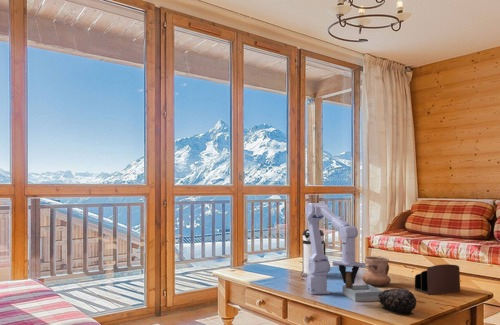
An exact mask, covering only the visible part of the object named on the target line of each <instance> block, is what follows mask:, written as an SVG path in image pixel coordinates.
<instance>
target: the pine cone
mask: <svg viewBox="0 0 500 325" xmlns="http://www.w3.org/2000/svg"><path fill="white" fill-rule="evenodd" d="M382 291H383V293H380V294H378V297H379V299H380V300H379V303H380V304H381V305H382V306H381V309H382V310H384V311H387V312H390V313H392V314H396V315H400V316H409V315H410V316H412V315H414V314H415V313H414V312H413V311H414V309H415V308H416V307H417V298H416V296H415V294H414V293H413V292H412V291H410V290H409V289H407V288H404V287H403V288H402V287H399V288H390V289H385V290H382Z"/></svg>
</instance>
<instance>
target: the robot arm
mask: <svg viewBox="0 0 500 325" xmlns="http://www.w3.org/2000/svg"><path fill="white" fill-rule="evenodd" d="M305 216H306V220H307V224H308V225H307V227H308V229H309V234H310V241H311V248H312V254H313V255H312V256H311V257H310V258H309V265H308V268H309V271H310V273H311V275H307V276H306V291H307V292H308V293H309V295H330V293H331V292H329V291H328V285H327V284H328V282H327V281H328V276H327V275H328V274H329V272H330V271H331V264H332V267H338V270H339V272H340V275H341V278H342V282H343V284H345V272H346V271H347V267H348V268H351V272H352V284H353V285H354V284H355V280H356V277H357V274H358V272H359V269H366V268H367V267H366V263H365V262H358V261H356V238H357V237H358V235H359V230H358V228H357V227H356V225H353V224H352V225H351V224H350V223H349V222H347V221H346V220H345V219H343V217H342V216H337V215H336V214H335V213H334V212H332V210H331V209H330V208H329V205H328V204H327V203H325V202H315V203H314V202H313V203H312V202H309V203H307V205H306V206H305ZM324 217H325V219H327V220H328V221H329V222H331V226H332V227H333V228H334V229H335V230H336V231H337V232H338V234H339V236H340V241H341V243H342V244H341V246H342V247H341V249H342V250H341V251H342V260H332V263H331V264H330V261H329V258H328V256H327V255H326V254H325V255H324V254H323V249H322V242H321V236H320V230H321V229H320V225H319V223H320V221H321V220H322V219H324ZM319 229H320V230H319ZM316 260H321V261H316Z"/></svg>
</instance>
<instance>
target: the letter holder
mask: <svg viewBox="0 0 500 325" xmlns="http://www.w3.org/2000/svg"><path fill="white" fill-rule="evenodd" d="M460 271H461V270H460V266H459V265H457V264H450V263H449V264H436V265H432V266H428V267H427V268H426V270H424V271H421V273H417V274H415V276H414V291H415V292H420V293H422V294H425V295H428V296H431V294H432V295H442V294H449V293H450V294H453V293H460V292H461V281H460V280H461V278H460V277H461V274H460V273H461V272H460Z"/></svg>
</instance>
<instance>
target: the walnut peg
mask: <svg viewBox="0 0 500 325" xmlns="http://www.w3.org/2000/svg"><path fill="white" fill-rule="evenodd" d="M353 285H354V284H352V271H351V270H346V272H345V283H344V286H345V288H348V289H352V288H353Z"/></svg>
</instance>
